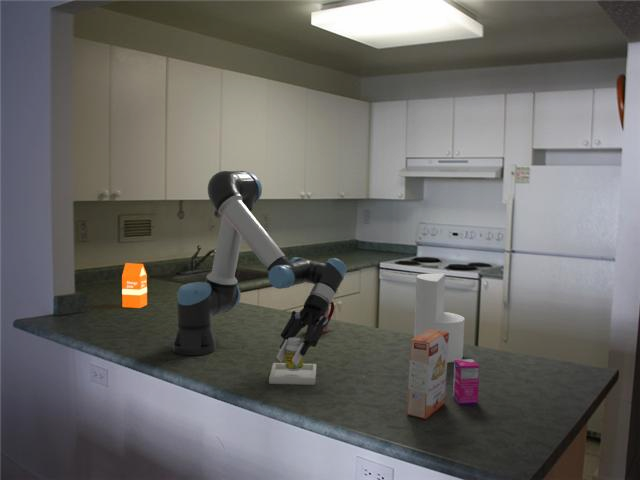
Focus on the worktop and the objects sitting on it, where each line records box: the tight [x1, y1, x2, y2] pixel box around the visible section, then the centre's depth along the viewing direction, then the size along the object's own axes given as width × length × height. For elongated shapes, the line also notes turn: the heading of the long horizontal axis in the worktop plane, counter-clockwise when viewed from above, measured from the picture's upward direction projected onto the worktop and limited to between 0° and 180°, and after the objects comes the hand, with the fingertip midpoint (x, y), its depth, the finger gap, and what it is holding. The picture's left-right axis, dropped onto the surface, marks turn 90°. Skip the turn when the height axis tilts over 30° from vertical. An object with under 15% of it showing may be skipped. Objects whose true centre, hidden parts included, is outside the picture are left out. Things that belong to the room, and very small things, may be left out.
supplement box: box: [452, 358, 480, 406], centre depth 172 cm, size 6×6×12 cm
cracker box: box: [406, 329, 449, 420], centre depth 165 cm, size 14×6×21 cm, turn 147°
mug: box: [314, 301, 335, 334], centre depth 245 cm, size 13×9×14 cm
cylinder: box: [413, 273, 465, 363], centre depth 215 cm, size 17×17×28 cm
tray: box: [268, 362, 317, 386], centre depth 190 cm, size 14×14×2 cm
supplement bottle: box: [285, 336, 304, 371], centre depth 189 cm, size 5×5×10 cm
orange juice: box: [121, 262, 148, 309], centre depth 283 cm, size 8×9×20 cm
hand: (286, 361), depth 187 cm, fingers closed on supplement bottle, 5 cm apart
